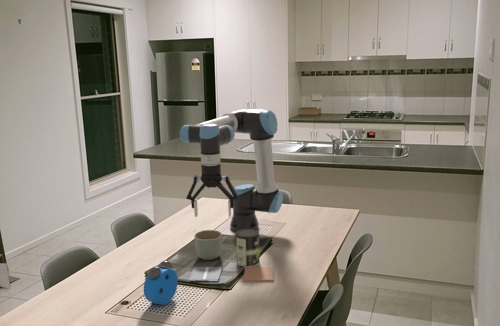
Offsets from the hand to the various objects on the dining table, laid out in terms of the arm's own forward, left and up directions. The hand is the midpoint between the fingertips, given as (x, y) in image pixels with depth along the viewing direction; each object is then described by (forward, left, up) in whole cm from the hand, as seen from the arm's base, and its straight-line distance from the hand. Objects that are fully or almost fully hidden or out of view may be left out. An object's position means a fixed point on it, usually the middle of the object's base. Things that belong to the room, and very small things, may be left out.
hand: (213, 215), depth 186 cm
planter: (-20, -5, -27) cm, 34 cm away
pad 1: (-2, -4, -26) cm, 27 cm away
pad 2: (-2, +18, -26) cm, 32 cm away
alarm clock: (+20, -18, -27) cm, 38 cm away
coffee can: (-14, +13, -27) cm, 33 cm away
